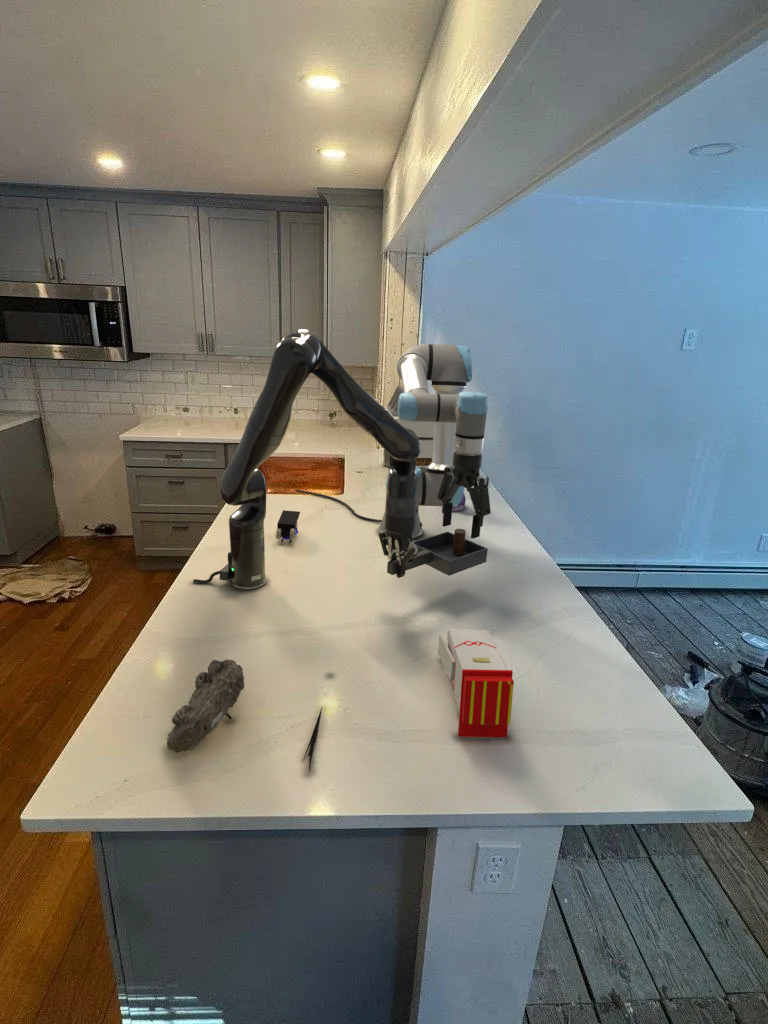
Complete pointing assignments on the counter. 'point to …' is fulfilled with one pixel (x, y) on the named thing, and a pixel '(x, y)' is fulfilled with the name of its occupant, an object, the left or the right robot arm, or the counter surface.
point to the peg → (459, 542)
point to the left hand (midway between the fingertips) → (396, 574)
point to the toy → (478, 682)
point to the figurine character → (287, 525)
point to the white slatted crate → (418, 427)
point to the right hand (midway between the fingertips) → (460, 531)
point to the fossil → (206, 705)
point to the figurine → (460, 504)
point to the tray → (444, 555)
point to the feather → (313, 740)
